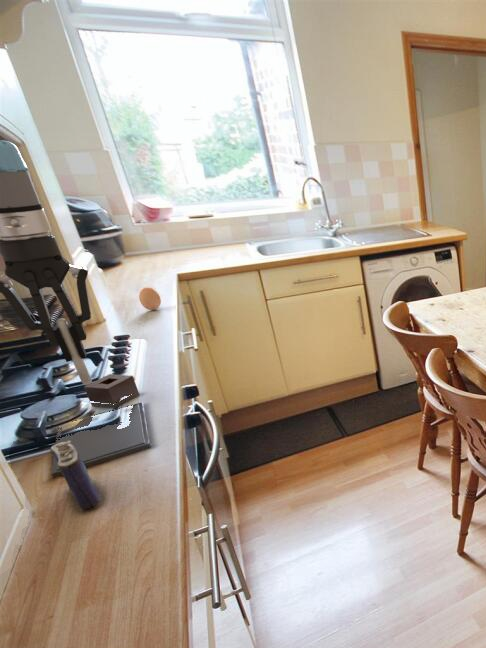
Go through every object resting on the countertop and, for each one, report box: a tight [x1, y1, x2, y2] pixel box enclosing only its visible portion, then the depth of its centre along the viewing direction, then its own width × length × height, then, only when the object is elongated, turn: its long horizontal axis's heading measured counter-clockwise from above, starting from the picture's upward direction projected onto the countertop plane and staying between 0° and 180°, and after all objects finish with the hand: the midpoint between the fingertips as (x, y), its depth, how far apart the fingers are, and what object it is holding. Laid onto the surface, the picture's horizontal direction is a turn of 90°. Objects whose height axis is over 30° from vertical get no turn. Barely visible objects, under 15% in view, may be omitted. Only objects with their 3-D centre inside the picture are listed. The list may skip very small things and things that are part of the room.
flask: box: [50, 440, 101, 512], centre depth 75 cm, size 9×3×11 cm, turn 50°
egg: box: [138, 286, 162, 311], centre depth 161 cm, size 6×6×8 cm
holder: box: [83, 373, 140, 409], centre depth 105 cm, size 6×6×5 cm
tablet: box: [50, 401, 152, 479], centre depth 92 cm, size 20×14×1 cm
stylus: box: [55, 318, 93, 386], centre depth 90 cm, size 2×2×14 cm
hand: (76, 357), depth 91 cm, fingers closed on stylus, 1 cm apart
